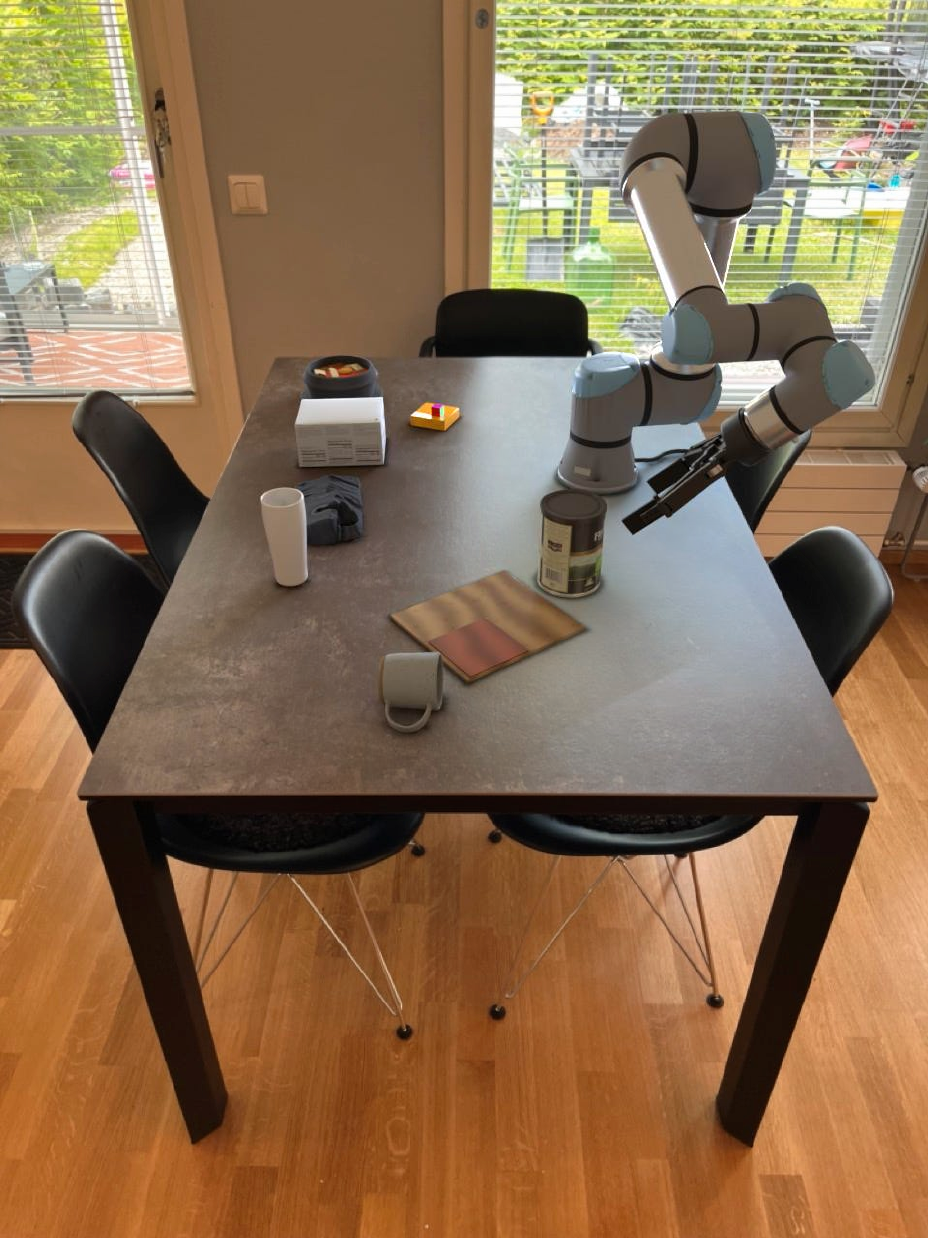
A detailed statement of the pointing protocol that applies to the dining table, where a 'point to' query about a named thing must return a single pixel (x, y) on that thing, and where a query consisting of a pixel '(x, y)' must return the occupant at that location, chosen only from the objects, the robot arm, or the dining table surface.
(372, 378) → the casserole
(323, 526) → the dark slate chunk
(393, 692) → the ceramic mug
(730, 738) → the dining table surface
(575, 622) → the placemat
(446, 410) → the yellow tile with knob
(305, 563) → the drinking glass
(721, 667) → the dining table surface
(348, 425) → the supplement box
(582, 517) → the coffee can
